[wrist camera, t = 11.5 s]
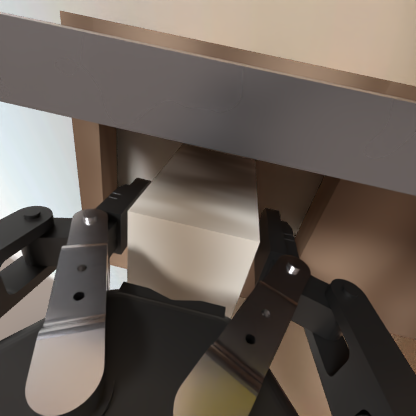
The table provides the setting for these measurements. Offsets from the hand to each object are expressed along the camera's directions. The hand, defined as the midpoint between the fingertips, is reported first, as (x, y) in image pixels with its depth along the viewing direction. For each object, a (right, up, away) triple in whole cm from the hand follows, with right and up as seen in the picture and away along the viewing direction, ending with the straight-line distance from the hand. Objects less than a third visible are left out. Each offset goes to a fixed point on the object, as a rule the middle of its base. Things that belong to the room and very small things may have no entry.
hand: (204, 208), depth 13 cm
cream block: (0, +2, +3) cm, 3 cm away
